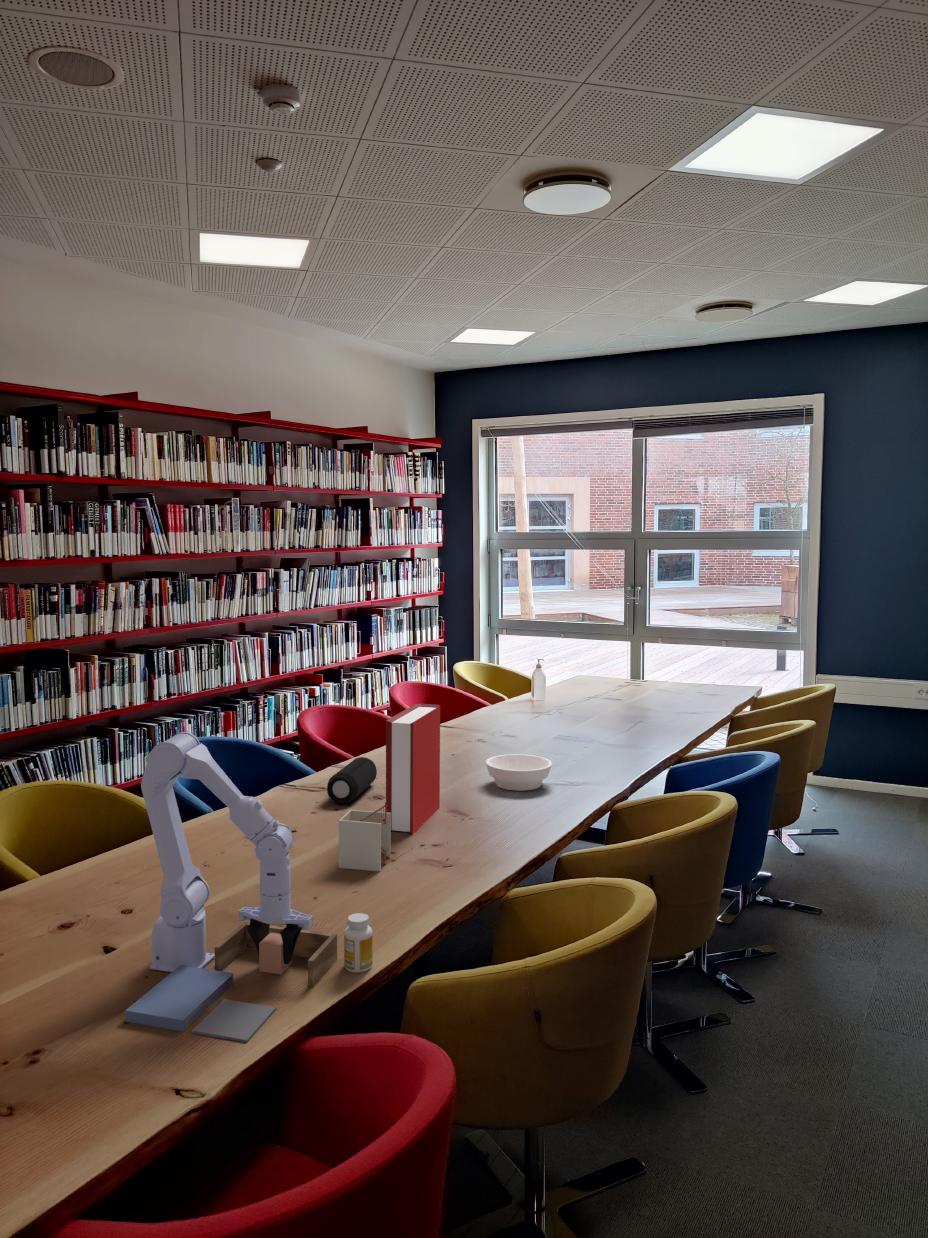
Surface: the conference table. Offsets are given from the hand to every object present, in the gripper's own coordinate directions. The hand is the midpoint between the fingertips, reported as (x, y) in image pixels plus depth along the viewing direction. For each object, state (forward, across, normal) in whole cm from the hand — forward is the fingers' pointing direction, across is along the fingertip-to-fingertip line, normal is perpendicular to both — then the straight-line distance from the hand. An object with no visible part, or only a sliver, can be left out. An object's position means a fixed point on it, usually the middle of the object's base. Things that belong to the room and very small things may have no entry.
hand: (275, 960), depth 159 cm
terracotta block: (+1, 0, 0) cm, 1 cm away
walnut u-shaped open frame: (+1, 0, 0) cm, 1 cm away
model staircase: (+2, +3, -54) cm, 55 cm away
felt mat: (+1, -2, +18) cm, 19 cm away
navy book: (+2, +10, +16) cm, 19 cm away
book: (+2, +2, -92) cm, 92 cm away
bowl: (+2, -21, -134) cm, 136 cm away
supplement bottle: (+2, -15, -4) cm, 16 cm away
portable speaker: (+2, +29, -110) cm, 113 cm away
